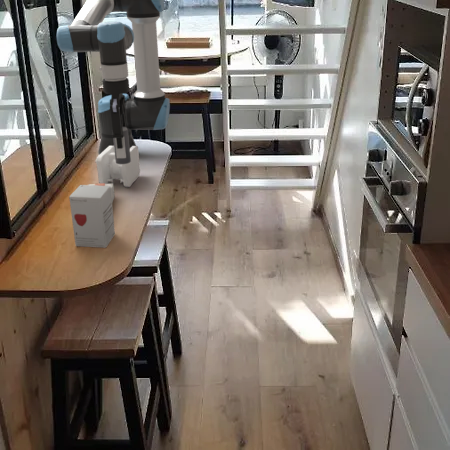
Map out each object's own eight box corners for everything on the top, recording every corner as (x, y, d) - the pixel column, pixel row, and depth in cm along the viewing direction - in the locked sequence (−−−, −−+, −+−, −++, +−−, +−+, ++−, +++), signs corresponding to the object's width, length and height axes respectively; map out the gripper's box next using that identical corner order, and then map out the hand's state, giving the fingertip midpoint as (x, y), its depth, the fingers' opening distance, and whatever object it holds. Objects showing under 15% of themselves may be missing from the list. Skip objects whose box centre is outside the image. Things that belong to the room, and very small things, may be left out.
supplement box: (74, 246, 167) (67, 196, 160) (85, 232, 175) (79, 184, 168) (106, 248, 165) (100, 197, 159) (116, 234, 173) (111, 185, 167)
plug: (127, 158, 190) (124, 125, 185) (133, 162, 186) (130, 129, 182) (113, 160, 188) (110, 127, 183) (118, 165, 184) (115, 131, 180)
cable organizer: (127, 191, 203) (124, 158, 198) (97, 189, 205) (94, 157, 200) (141, 175, 216) (138, 144, 211) (112, 174, 218) (109, 143, 213)
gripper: (107, 72, 184) (114, 146, 194) (96, 85, 168) (105, 165, 178) (132, 71, 184) (138, 145, 194) (124, 84, 168) (131, 164, 178)
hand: (122, 154), depth 186 cm, fingers closed on plug, 4 cm apart
